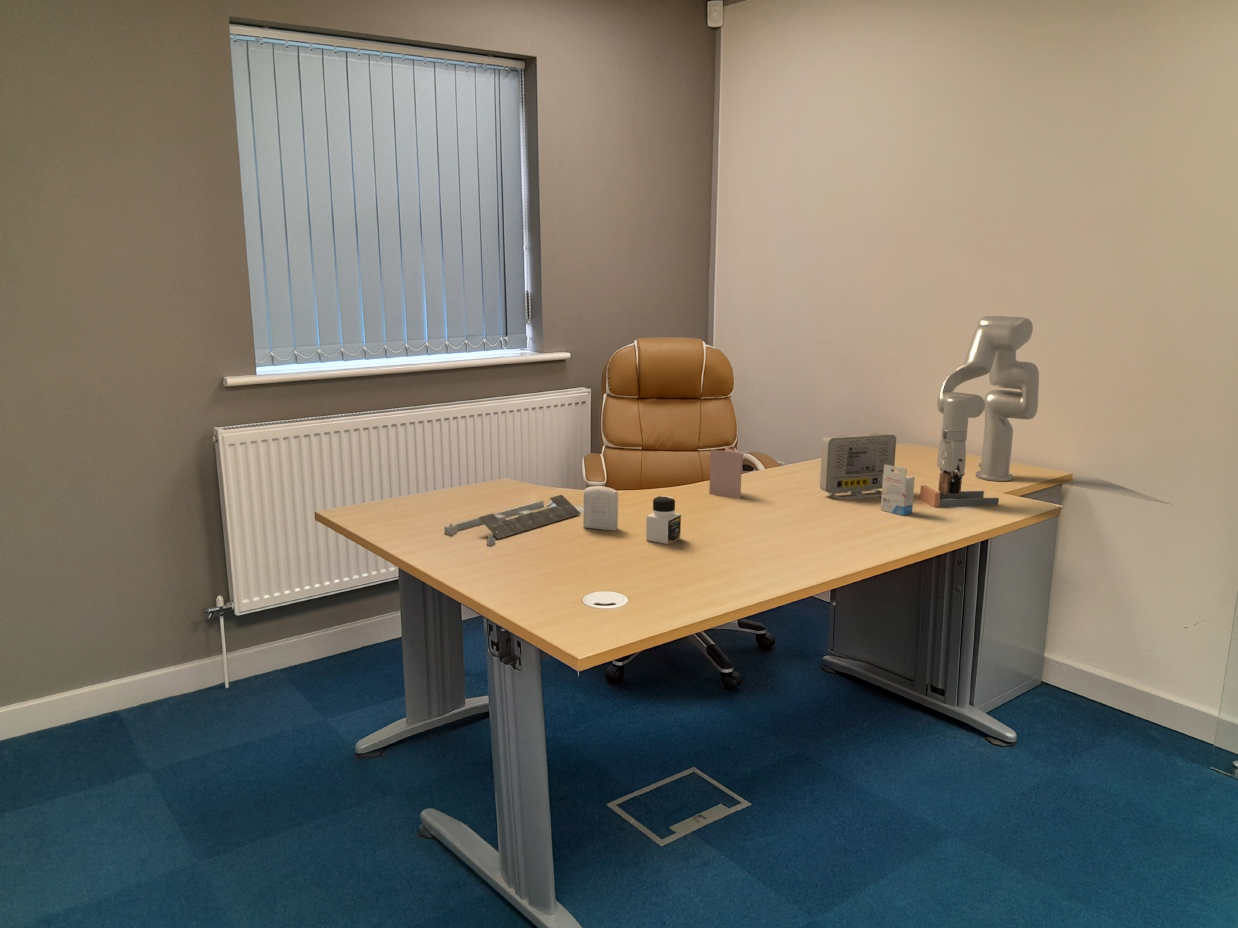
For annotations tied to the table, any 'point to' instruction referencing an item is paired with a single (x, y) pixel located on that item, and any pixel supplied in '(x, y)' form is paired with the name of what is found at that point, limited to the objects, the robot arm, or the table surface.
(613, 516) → the gravestone
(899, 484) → the ink box
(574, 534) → the table surface
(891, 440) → the network device
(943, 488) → the block
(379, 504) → the table surface
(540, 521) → the paper cutter
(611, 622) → the table surface
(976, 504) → the guide channel
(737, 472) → the greeting card
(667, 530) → the medicine bottle
